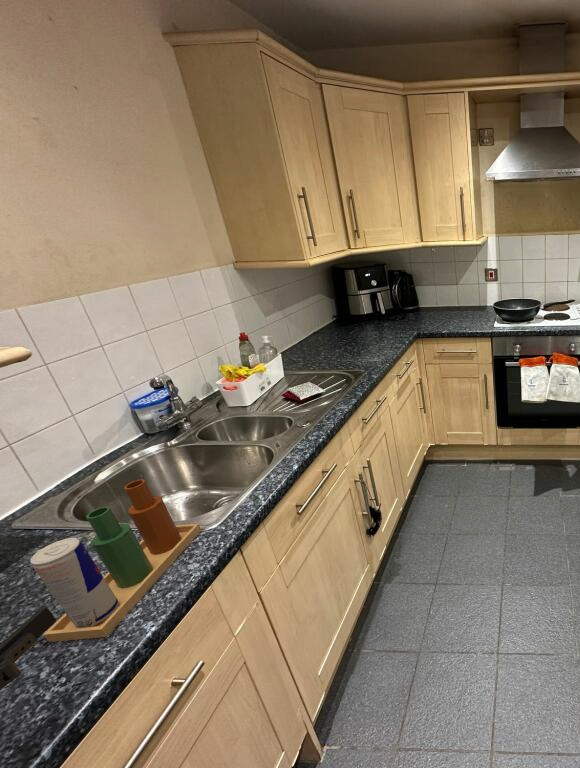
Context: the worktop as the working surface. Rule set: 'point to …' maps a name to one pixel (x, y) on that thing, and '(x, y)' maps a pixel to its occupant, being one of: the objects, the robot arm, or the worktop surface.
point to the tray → (124, 592)
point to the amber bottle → (152, 518)
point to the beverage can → (75, 582)
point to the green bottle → (118, 549)
